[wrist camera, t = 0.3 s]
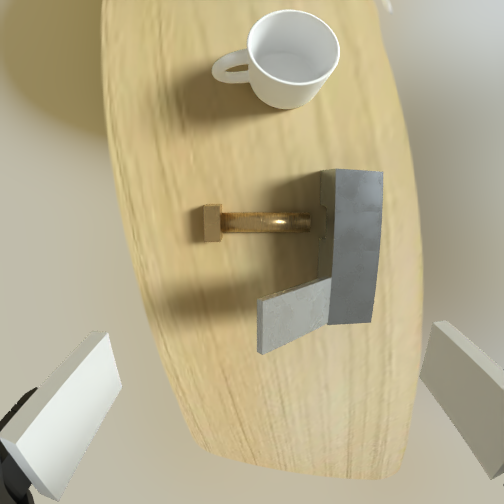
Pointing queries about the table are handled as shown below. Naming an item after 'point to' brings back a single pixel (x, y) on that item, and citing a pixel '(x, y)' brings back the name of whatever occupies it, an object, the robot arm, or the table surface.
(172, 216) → the table surface
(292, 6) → the table surface
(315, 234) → the table surface
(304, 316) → the tab
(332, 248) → the block
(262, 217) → the lynch pin
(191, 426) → the table surface
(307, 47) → the mug
